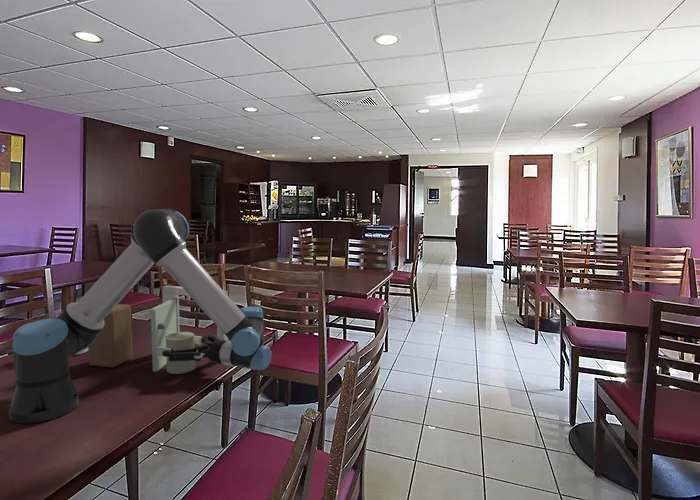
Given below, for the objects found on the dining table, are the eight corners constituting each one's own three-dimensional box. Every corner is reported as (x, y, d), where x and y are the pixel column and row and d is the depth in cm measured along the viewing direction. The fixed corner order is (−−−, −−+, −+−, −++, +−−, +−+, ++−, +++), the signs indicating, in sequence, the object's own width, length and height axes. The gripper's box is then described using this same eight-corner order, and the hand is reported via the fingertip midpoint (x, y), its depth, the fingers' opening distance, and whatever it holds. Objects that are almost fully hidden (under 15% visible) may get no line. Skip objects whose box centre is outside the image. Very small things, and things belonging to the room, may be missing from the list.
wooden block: (112, 368, 140) (110, 310, 138) (87, 366, 142) (84, 308, 140) (133, 358, 150) (131, 304, 148) (109, 356, 152) (107, 302, 150)
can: (185, 361, 147) (184, 328, 146) (201, 367, 142) (200, 333, 141) (160, 369, 140) (159, 335, 139) (176, 376, 135) (175, 340, 133)
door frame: (224, 360, 149) (223, 292, 146) (164, 351, 157) (162, 286, 155) (228, 358, 151) (227, 291, 148) (168, 349, 160) (167, 285, 157)
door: (147, 371, 138) (145, 309, 135) (170, 352, 155) (169, 297, 153) (162, 371, 138) (160, 309, 135) (183, 352, 155) (182, 297, 153)
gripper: (200, 378, 123) (143, 368, 130) (246, 351, 147) (197, 344, 153) (199, 353, 122) (143, 345, 129) (246, 330, 146) (196, 324, 153)
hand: (172, 344), depth 141 cm, fingers open, 13 cm apart
